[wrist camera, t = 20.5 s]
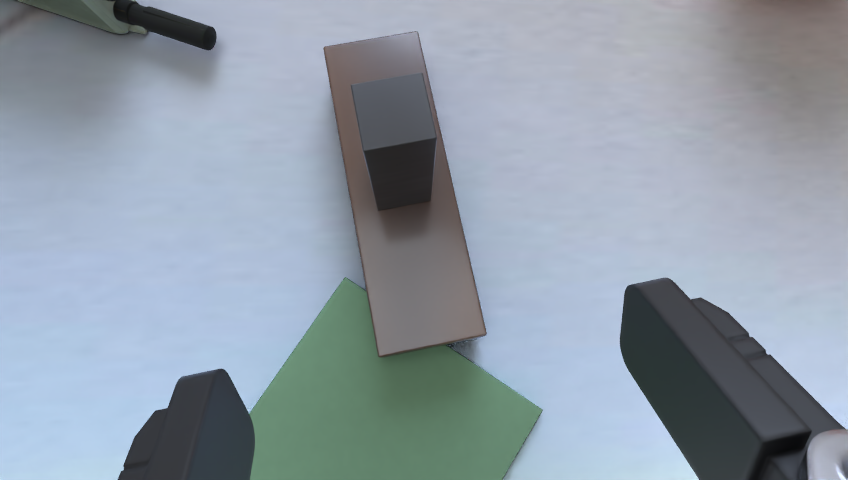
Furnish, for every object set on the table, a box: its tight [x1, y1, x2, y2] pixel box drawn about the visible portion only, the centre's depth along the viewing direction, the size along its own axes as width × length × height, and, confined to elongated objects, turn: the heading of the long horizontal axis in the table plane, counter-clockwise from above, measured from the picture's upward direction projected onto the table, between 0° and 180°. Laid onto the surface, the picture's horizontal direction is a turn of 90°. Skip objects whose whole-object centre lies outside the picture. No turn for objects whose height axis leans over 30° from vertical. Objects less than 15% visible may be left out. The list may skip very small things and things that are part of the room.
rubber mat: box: [249, 277, 542, 480], centre depth 25 cm, size 11×12×1 cm
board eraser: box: [324, 31, 487, 358], centre depth 22 cm, size 5×16×10 cm, turn 11°
